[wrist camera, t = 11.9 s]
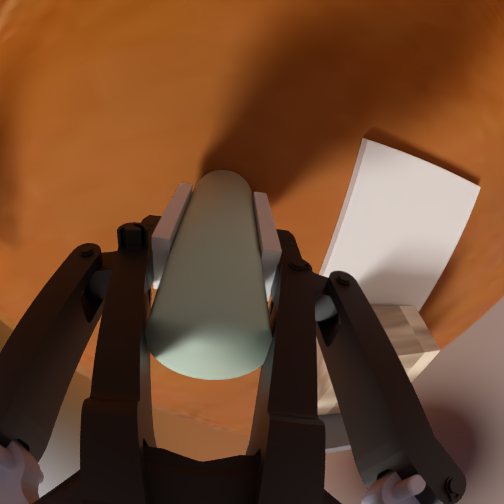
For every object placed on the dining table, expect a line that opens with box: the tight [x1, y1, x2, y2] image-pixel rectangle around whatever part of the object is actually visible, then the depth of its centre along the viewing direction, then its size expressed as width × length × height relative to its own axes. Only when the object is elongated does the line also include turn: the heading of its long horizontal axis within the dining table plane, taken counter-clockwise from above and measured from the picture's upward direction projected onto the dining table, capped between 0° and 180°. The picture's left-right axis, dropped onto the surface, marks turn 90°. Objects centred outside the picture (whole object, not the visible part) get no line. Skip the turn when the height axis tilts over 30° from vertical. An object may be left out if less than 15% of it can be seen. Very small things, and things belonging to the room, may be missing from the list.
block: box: [316, 305, 440, 415], centre depth 23 cm, size 10×10×6 cm
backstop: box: [318, 138, 481, 453], centre depth 19 cm, size 26×13×11 cm, turn 170°
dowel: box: [145, 170, 272, 380], centre depth 13 cm, size 4×4×12 cm
